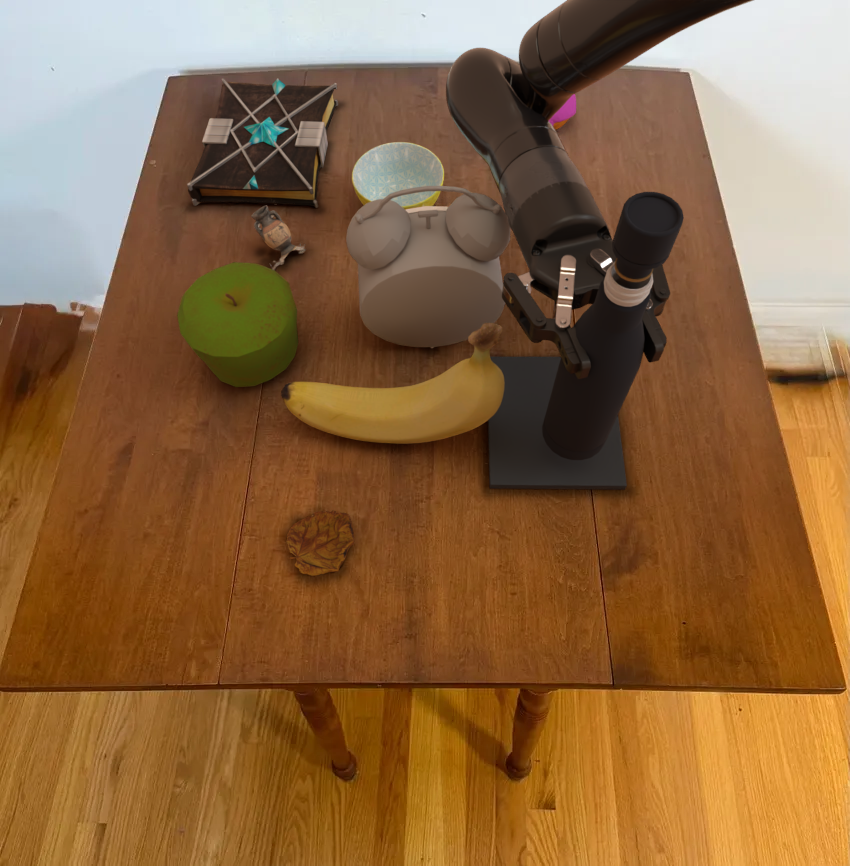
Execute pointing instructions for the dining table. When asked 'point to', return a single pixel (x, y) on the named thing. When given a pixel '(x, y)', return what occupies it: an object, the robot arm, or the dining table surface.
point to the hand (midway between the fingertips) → (621, 363)
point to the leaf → (321, 542)
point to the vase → (274, 232)
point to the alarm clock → (429, 267)
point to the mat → (541, 436)
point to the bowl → (398, 174)
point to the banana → (407, 401)
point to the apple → (241, 322)
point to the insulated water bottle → (612, 330)
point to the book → (264, 144)
